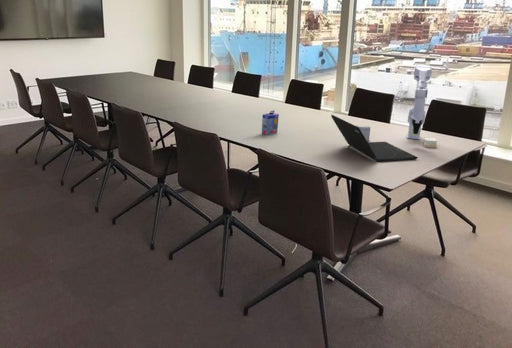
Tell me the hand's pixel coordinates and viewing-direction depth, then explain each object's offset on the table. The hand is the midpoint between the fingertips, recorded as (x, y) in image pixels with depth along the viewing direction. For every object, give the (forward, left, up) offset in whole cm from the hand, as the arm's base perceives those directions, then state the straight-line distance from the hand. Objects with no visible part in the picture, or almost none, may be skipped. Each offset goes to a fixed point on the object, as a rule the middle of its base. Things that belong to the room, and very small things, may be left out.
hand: (415, 132), depth 277 cm
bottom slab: (-5, +9, -9) cm, 13 cm away
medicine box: (-1, -30, -8) cm, 31 cm away
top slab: (-5, +9, -6) cm, 12 cm away
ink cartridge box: (+6, -86, -8) cm, 87 cm away
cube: (0, 0, -2) cm, 2 cm away
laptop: (+25, -22, -9) cm, 34 cm away
